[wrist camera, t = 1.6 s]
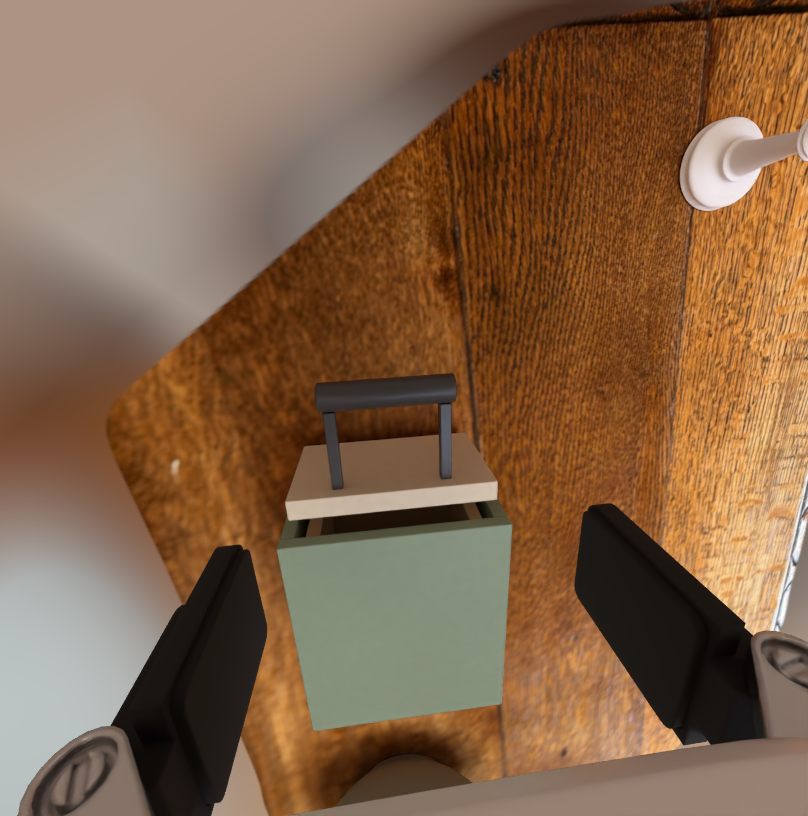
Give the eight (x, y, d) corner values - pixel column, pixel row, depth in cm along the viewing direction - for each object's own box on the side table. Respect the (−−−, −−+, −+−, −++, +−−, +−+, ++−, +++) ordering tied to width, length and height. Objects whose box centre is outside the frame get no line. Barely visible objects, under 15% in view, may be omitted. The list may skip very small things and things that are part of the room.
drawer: (291, 361, 24) (264, 393, 18) (466, 349, 25) (502, 375, 18) (327, 596, 31) (317, 681, 24) (464, 580, 31) (490, 658, 25)
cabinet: (301, 468, 27) (276, 549, 19) (470, 453, 28) (512, 524, 20) (325, 618, 32) (313, 731, 24) (468, 600, 33) (502, 704, 25)
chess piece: (761, 183, 24) (1016, 126, 15) (690, 226, 24) (893, 197, 15) (745, 101, 22) (1022, -24, 13) (669, 148, 23) (884, 61, 13)
